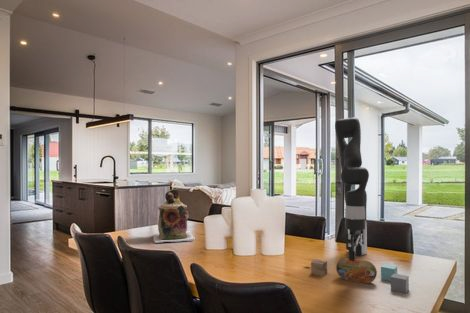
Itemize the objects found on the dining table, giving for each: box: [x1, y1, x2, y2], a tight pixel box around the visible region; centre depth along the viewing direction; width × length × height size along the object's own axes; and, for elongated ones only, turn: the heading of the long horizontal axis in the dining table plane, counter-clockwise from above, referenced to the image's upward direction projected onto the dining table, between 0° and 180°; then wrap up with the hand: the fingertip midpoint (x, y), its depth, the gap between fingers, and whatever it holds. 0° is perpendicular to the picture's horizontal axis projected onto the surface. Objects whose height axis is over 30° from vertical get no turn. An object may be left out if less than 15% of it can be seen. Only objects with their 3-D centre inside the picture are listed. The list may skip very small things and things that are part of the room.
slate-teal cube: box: [380, 263, 398, 282], centre depth 132 cm, size 5×5×5 cm
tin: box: [335, 257, 378, 284], centre depth 130 cm, size 15×3×8 cm, turn 57°
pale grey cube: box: [390, 273, 410, 295], centre depth 120 cm, size 5×5×5 cm
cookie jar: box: [152, 187, 196, 244], centre depth 208 cm, size 25×25×32 cm
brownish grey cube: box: [310, 259, 328, 277], centre depth 139 cm, size 5×5×5 cm
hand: (355, 258), depth 131 cm, fingers open, 8 cm apart
